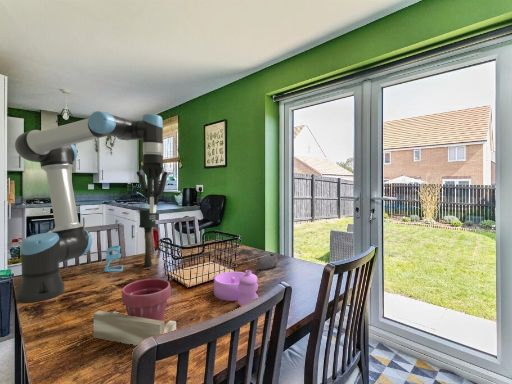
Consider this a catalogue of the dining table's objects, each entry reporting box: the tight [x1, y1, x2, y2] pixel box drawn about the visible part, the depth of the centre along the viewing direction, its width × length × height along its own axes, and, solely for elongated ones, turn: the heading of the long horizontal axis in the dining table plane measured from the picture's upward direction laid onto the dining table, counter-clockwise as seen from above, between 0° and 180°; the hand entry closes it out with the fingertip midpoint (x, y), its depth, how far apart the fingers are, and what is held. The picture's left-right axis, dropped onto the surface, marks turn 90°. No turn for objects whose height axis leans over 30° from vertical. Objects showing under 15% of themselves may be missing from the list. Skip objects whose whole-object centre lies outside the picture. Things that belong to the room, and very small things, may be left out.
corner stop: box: [92, 310, 177, 347], centre depth 82 cm, size 8×22×7 cm, turn 75°
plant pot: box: [121, 278, 171, 321], centre depth 88 cm, size 14×14×13 cm
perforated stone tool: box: [256, 252, 279, 271], centre depth 147 cm, size 15×5×7 cm, turn 132°
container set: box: [213, 269, 259, 307], centre depth 110 cm, size 25×15×13 cm, turn 29°
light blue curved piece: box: [103, 245, 124, 273], centre depth 141 cm, size 8×8×12 cm
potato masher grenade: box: [138, 208, 157, 268], centre depth 148 cm, size 8×9×30 cm
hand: (153, 212), depth 113 cm, fingers closed
